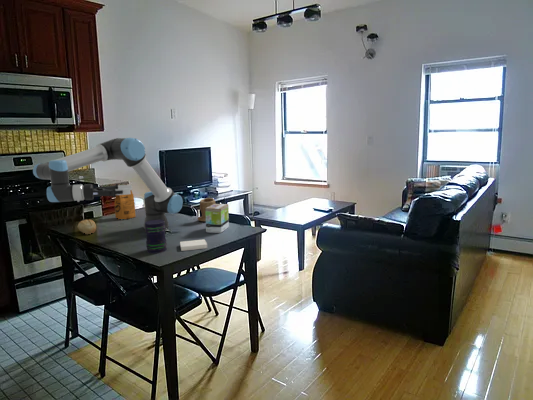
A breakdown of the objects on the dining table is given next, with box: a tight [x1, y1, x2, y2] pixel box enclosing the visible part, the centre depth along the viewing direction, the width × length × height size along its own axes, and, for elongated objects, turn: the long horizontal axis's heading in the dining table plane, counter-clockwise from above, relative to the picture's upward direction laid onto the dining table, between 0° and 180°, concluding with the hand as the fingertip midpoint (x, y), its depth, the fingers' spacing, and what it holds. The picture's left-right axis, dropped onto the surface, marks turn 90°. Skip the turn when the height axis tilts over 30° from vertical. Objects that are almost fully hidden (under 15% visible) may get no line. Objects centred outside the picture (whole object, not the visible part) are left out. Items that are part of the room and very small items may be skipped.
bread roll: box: [77, 218, 97, 235], centre depth 244 cm, size 10×15×8 cm, turn 44°
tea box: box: [205, 203, 230, 234], centre depth 241 cm, size 15×10×15 cm, turn 168°
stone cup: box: [197, 197, 216, 222], centre depth 266 cm, size 15×12×15 cm
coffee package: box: [114, 189, 137, 220], centre depth 280 cm, size 10×12×22 cm
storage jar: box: [144, 220, 168, 254], centre depth 202 cm, size 10×10×15 cm
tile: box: [179, 238, 208, 252], centre depth 208 cm, size 2×10×13 cm
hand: (131, 189), depth 196 cm, fingers open, 13 cm apart
